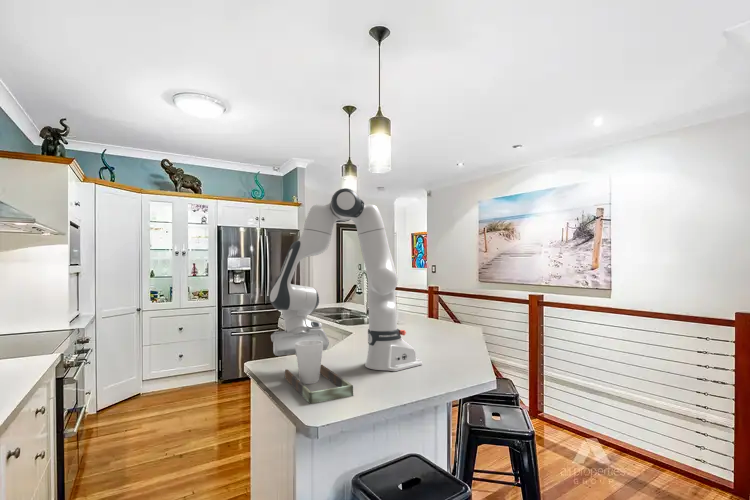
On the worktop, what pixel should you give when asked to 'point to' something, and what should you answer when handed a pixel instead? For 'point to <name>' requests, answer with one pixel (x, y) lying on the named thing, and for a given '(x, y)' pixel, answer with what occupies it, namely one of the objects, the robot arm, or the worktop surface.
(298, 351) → the foam cup
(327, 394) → the channel
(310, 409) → the worktop surface
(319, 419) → the worktop surface
